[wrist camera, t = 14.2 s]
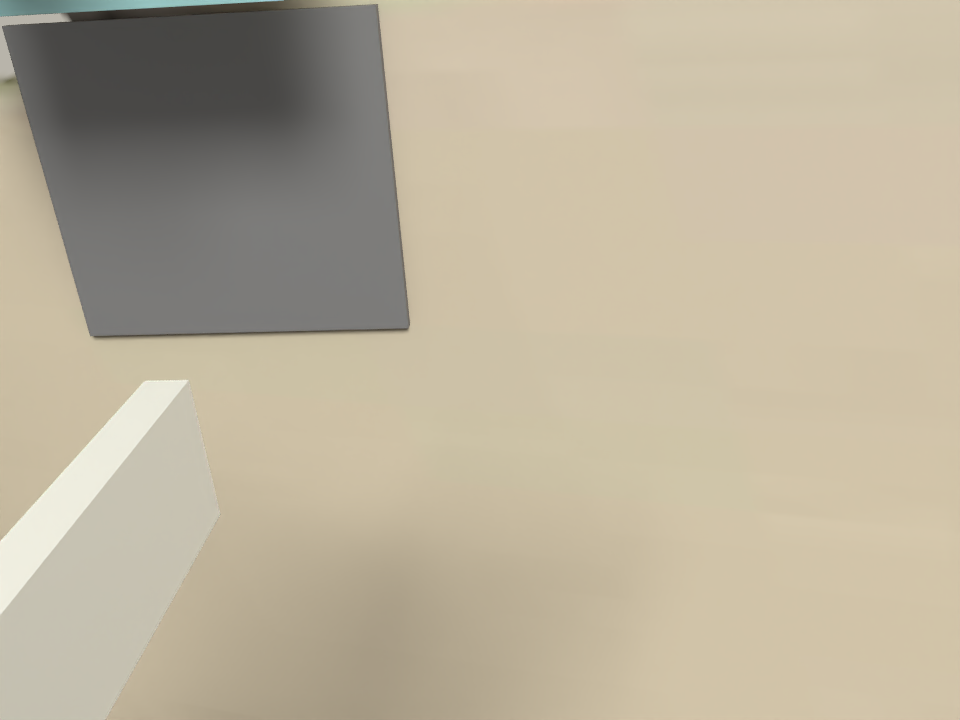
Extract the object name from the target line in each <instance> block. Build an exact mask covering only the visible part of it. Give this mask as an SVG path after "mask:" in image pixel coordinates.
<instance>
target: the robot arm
mask: <svg viewBox="0 0 960 720" xmlns="http://www.w3.org/2000/svg"><path fill="white" fill-rule="evenodd" d="M219 516H220V510H219V506H218V502H217V497H216V493H215V489H214V485H213V480H212V476H211V472H210V468H209V463H208V459H207V455H206V451H205V446H204V442H203V438H202V433H201V429H200V425H199V421H198V416H197V412H196V408H195V404H194V399H193V395H192V391H191V387H190V382H189V380H158V381H144V382H143V383H142V384H141V386H140V387H139V388H138V389H137V390H136V391H135V392H134V393H133V394H132V396H131V397H130V398H129V399H128V400H127V401H126V402H125V403H124V404H123V406H122V407H121V408H120V409H119V410H118V411H117V412H116V413H115V414H114V416H113V417H112V418H111V419H110V420H109V421H108V422H107V423H106V424H105V426H104V427H103V428H102V429H101V430H100V431H99V432H98V433H97V434H96V436H95V437H94V438H93V439H92V440H91V441H90V442H89V443H88V444H87V446H86V447H85V448H84V449H83V450H82V451H81V452H80V453H79V454H78V456H77V457H76V458H75V459H74V460H73V461H72V462H71V463H70V464H69V466H68V467H67V468H66V469H65V470H64V471H63V472H62V473H61V474H60V476H59V477H58V478H57V479H56V480H55V481H54V482H53V483H52V484H51V486H50V487H49V488H48V489H47V490H46V491H45V492H44V493H43V494H42V496H41V497H40V498H39V499H38V500H37V501H36V502H35V503H34V504H33V506H32V507H31V508H30V509H29V510H28V511H27V512H26V513H25V514H24V516H23V517H22V518H21V519H20V520H19V521H18V522H17V523H16V524H15V526H14V527H13V528H12V529H11V530H10V531H9V532H8V533H7V534H6V536H5V537H4V538H3V539H2V540H1V541H0V720H106V718H107V716H108V715H109V713H110V711H111V709H112V707H113V706H114V704H115V702H116V700H117V698H118V697H119V695H120V693H121V691H122V690H123V688H124V686H125V684H126V682H127V681H128V679H129V677H130V675H131V673H132V672H133V670H134V668H135V666H136V664H137V663H138V661H139V659H140V657H141V656H142V654H143V652H144V650H145V648H146V647H147V645H148V643H149V641H150V639H151V638H152V636H153V634H154V632H155V630H156V629H157V627H158V625H159V623H160V622H161V620H162V618H163V616H164V614H165V613H166V611H167V609H168V607H169V605H170V604H171V602H172V600H173V598H174V597H175V595H176V593H177V591H178V589H179V588H180V586H181V584H182V582H183V580H184V579H185V577H186V575H187V573H188V571H189V570H190V568H191V566H192V564H193V563H194V561H195V559H196V557H197V555H198V554H199V552H200V550H201V548H202V546H203V545H204V543H205V541H206V539H207V538H208V536H209V534H210V532H211V530H212V529H213V527H214V525H215V523H216V521H217V520H218V518H219Z"/></svg>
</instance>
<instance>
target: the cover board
mask: <svg viewBox="0 0 960 720" xmlns="http://www.w3.org/2000/svg"><path fill="white" fill-rule="evenodd" d="M264 1H282V0H0V16H18V15H34V14H53V13H70V12H88V11H106V10H123V9H141V8H159V7H176V6H194V5H212V4H229V3H247V2H264Z"/></svg>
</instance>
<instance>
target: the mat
mask: <svg viewBox="0 0 960 720" xmlns="http://www.w3.org/2000/svg"><path fill="white" fill-rule="evenodd" d="M2 28H3V32H4V35H5V39H6V42H7V46H8V49H9V52H10V56H11V60H12V63H13V67H14V70H15V74H16V77H17V81H18V84H19V88H20V91H21V95H22V98H23V102H24V105H25V109H26V112H27V116H28V119H29V123H30V126H31V130H32V133H33V137H34V140H35V144H36V147H37V151H38V154H39V158H40V162H41V165H42V169H43V172H44V176H45V179H46V183H47V186H48V190H49V193H50V197H51V200H52V204H53V207H54V211H55V214H56V218H57V221H58V225H59V228H60V232H61V235H62V239H63V242H64V246H65V249H66V253H67V256H68V260H69V263H70V267H71V270H72V274H73V277H74V281H75V284H76V288H77V291H78V295H79V298H80V302H81V305H82V309H83V312H84V316H85V319H86V323H87V326H88V330H89V333H90V336H112V335H153V334H193V333H234V332H275V331H316V330H356V329H397V328H409V325H410V320H409V310H408V300H407V290H406V281H405V271H404V261H403V251H402V241H401V231H400V221H399V211H398V201H397V191H396V181H395V171H394V162H393V152H392V142H391V132H390V122H389V112H388V102H387V92H386V82H385V72H384V62H383V52H382V43H381V33H380V23H379V13H378V4H373V5H356V6H338V7H321V8H303V9H285V10H268V11H250V12H233V13H215V14H197V15H180V16H162V17H145V18H127V19H109V20H92V21H74V22H57V23H39V24H21V25H7V26H2Z"/></svg>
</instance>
